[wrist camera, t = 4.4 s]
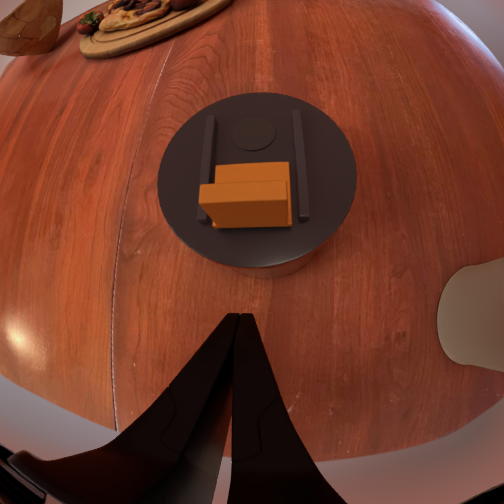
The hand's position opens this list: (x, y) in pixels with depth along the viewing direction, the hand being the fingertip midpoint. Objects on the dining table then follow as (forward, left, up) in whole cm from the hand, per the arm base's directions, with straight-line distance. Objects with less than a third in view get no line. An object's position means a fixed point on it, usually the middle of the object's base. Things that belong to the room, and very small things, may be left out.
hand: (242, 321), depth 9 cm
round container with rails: (+6, +5, -12) cm, 14 cm away
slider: (+5, +3, -3) cm, 6 cm away
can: (+10, -16, -12) cm, 23 cm away
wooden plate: (+30, +47, -12) cm, 57 cm away
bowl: (+16, +79, -12) cm, 81 cm away
